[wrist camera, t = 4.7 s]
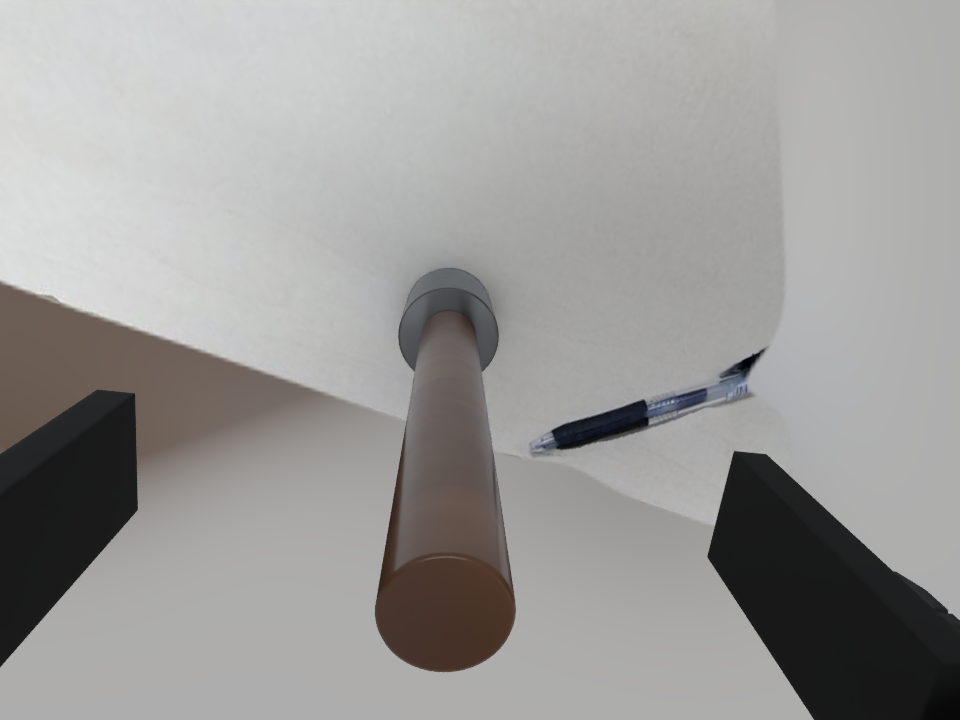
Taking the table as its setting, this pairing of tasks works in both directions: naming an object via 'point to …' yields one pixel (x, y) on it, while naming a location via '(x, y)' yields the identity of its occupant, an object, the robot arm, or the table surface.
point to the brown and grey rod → (446, 489)
